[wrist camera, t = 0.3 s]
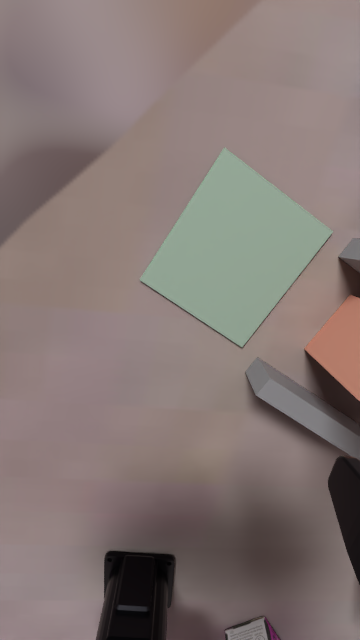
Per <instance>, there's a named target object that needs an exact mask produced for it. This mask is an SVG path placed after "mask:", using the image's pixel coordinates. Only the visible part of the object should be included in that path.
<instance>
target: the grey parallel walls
mask: <svg viewBox="0 0 360 640" xmlns="http://www.w3.org/2000/svg"><path fill="white" fill-rule="evenodd" d="M339 258H340V259H342V260H343V261H344V262H346V263H347V264H348V265H350V266H351V267H352V268H354V269H355V270H356V271H357V272H359V273H360V238H353V239H352V241H351V242H350V243H349V244H348V246H347V247H346V248H345V249H344V251H343V252H342V253H341V254H340V256H339ZM246 375H247V377H248V379H249V381H250V383H251V386H252V388H253V390H254V392H255V394H256V396H258V397H259V398H261V399H262V400H264V401H265V402H267V403H269V404H270V405H272V406H273V407H275V408H276V409H278V410H280V411H281V412H283V413H284V414H286V415H287V416H289V417H291V418H292V419H294V420H295V421H297V422H298V423H300V424H302V425H303V426H305V427H306V428H308V429H309V430H311V431H313V432H314V433H316V434H317V435H319V436H321V437H322V438H324V439H325V440H327V441H328V442H330V443H332V444H333V445H335V446H336V447H338V448H339V449H341V450H343V451H344V452H346V453H347V454H349V455H350V456H352V457H355V458H357V459H359V460H360V426H359V425H358V424H357V423H356V422H355V421H353V420H352V419H350V418H349V417H347V416H346V415H344V414H343V413H341V412H340V411H338V410H337V409H335V408H334V407H332V406H331V405H329V404H328V403H326V402H325V401H323V400H322V399H320V398H319V397H317V396H316V395H314V394H313V393H311V392H310V391H308V390H307V389H305V388H304V387H302V386H300V385H299V384H297V383H296V382H294V381H293V380H291V379H290V378H288V377H287V376H285V375H284V374H282V373H281V372H279V371H278V370H276V369H275V368H273V367H272V366H270V365H269V364H267V363H266V362H264V361H263V360H261V359H260V358H258V357H257V358H256V359H255V361H254V362H253V363H252V364H251V366H250V367H249V368H248V369H247V370H246Z"/></svg>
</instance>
